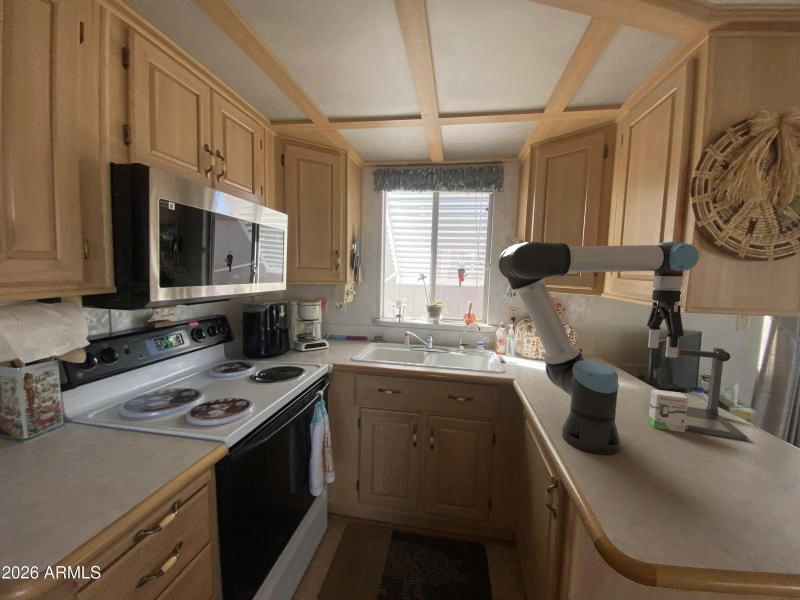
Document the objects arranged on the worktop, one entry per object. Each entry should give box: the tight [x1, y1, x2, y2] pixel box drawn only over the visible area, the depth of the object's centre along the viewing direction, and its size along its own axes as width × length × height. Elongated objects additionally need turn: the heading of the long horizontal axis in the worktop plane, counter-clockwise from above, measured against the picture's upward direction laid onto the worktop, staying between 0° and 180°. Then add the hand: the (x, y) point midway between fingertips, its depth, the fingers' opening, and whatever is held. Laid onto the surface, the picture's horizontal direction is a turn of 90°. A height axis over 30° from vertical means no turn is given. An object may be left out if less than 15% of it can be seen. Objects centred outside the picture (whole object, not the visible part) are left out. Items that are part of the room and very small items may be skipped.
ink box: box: [648, 389, 689, 433], centre depth 107 cm, size 9×5×12 cm, turn 71°
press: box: [685, 347, 748, 442], centre depth 111 cm, size 21×14×25 cm
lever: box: [677, 347, 731, 362], centre depth 116 cm, size 3×17×4 cm, turn 67°
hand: (661, 352), depth 108 cm, fingers open, 13 cm apart
